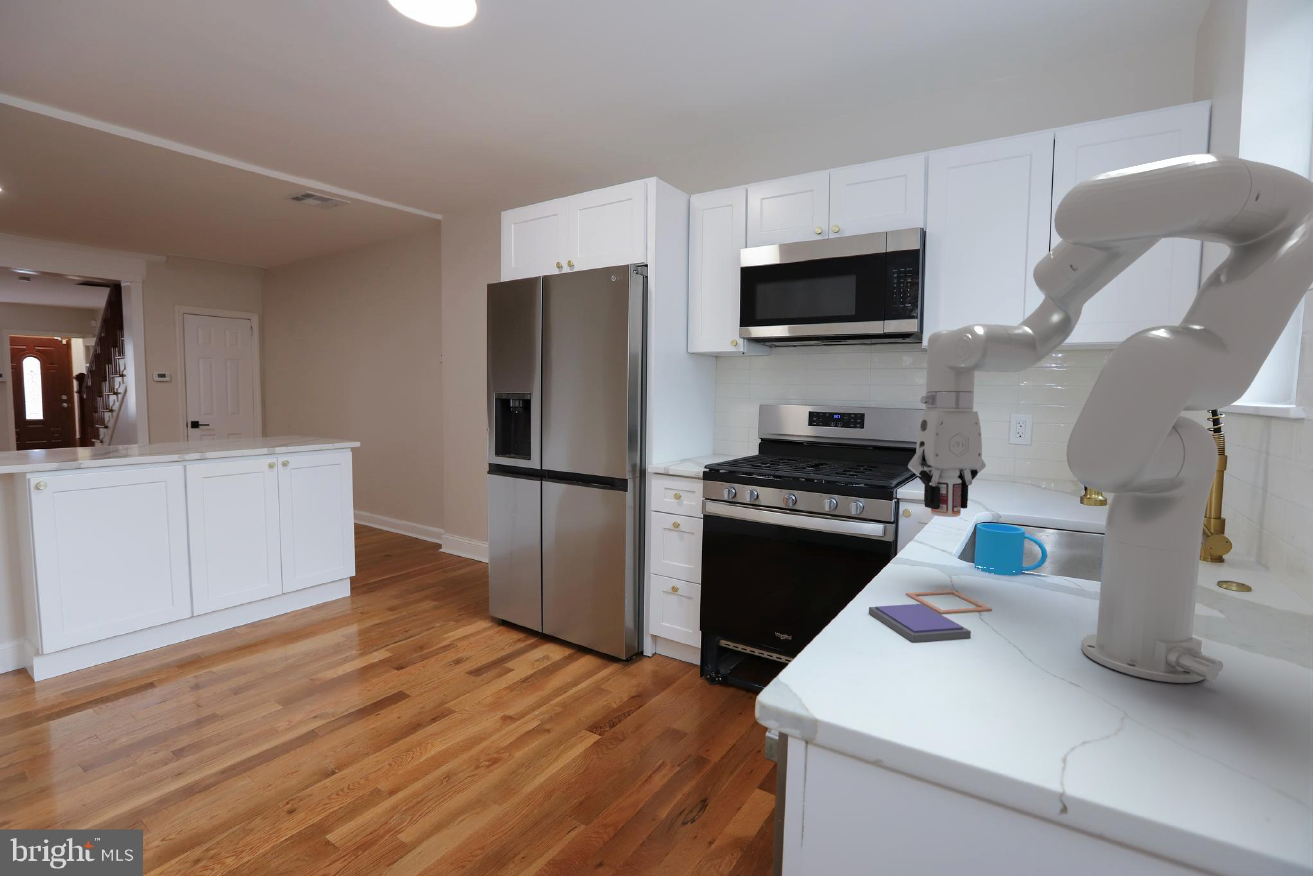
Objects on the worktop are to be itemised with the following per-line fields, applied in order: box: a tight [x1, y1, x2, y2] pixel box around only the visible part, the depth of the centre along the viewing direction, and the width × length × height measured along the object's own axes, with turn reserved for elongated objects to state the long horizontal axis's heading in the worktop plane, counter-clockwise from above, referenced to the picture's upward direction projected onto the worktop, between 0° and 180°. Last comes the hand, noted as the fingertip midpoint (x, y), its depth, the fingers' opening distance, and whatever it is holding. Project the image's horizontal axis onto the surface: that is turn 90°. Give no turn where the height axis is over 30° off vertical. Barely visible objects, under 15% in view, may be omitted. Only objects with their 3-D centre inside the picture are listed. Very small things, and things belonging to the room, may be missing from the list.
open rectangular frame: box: [905, 589, 993, 615], centre depth 102 cm, size 9×9×1 cm
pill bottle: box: [930, 469, 962, 518], centre depth 110 cm, size 5×5×8 cm
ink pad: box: [868, 603, 972, 643], centre depth 91 cm, size 11×9×1 cm
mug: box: [973, 522, 1048, 577], centre depth 120 cm, size 12×8×8 cm
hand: (945, 506), depth 110 cm, fingers closed on pill bottle, 4 cm apart
